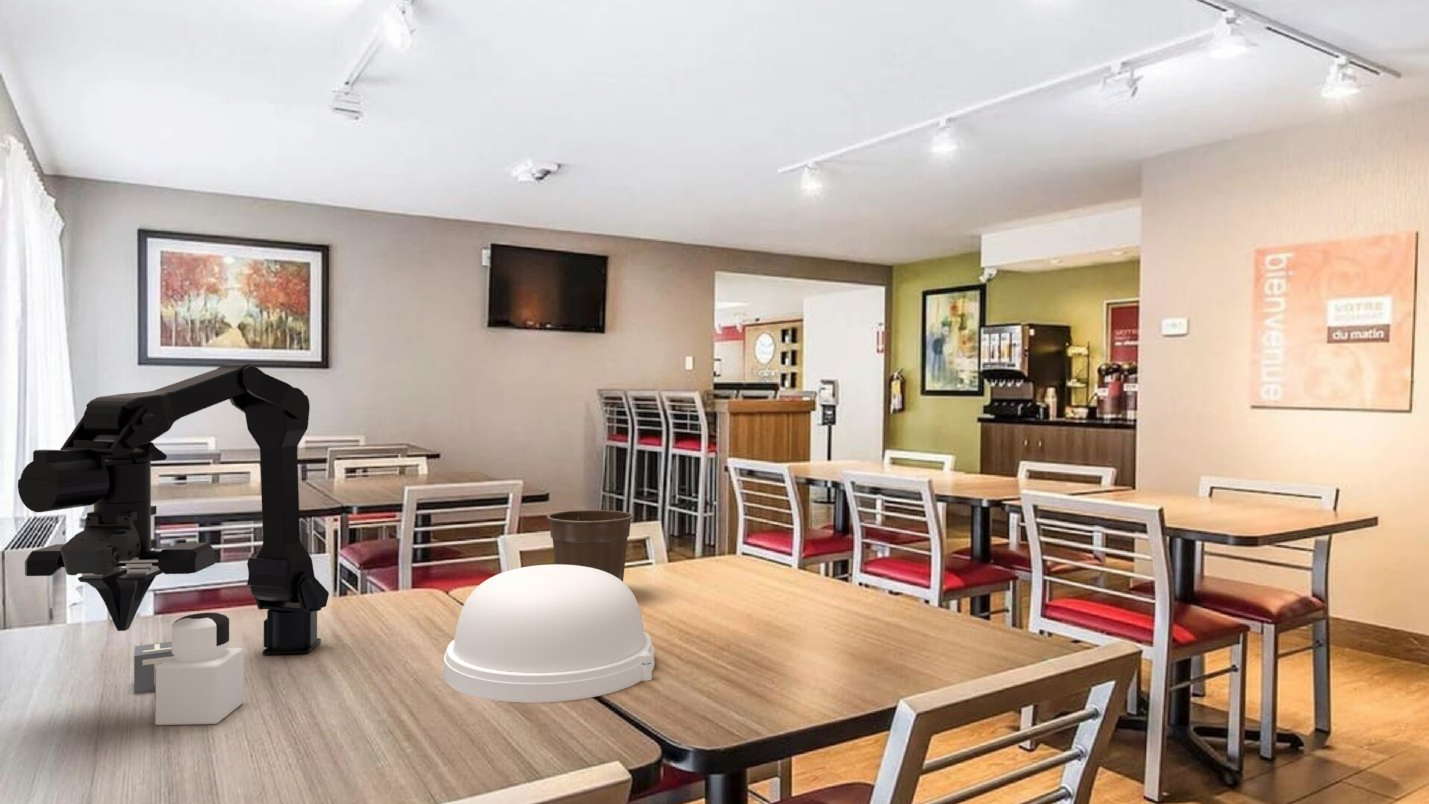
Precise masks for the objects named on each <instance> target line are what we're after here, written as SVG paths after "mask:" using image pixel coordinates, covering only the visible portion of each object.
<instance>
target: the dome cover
mask: <svg viewBox="0 0 1429 804" xmlns="http://www.w3.org/2000/svg"><path fill="white" fill-rule="evenodd" d="M642 616H643V615H642V612H641V608H640V605H639V603H638V600H637V598H636V596H635V595H634V592H632V590H631V589H630V587H629V586H628V585H627V584H626V583H625V582H624V581H623V582H622V581H621V580H620V579H619V578H617V577H615V576H614V575H612V574H609V573H607V572H605V571H602V570H598V569H595V568H590V567H584V566H577V565H560V564H555V563H553V564H539V565H537V564H536V565H530V566H523V567H518V568H514V569H510V570H507V571H503V572H500V573H497V574H495V575H493V576H492V577H489V578H488V579H486V580H485V581H483V582H481V583H480V584H479V585H478V586H477V587H476V588H474V589H473V590H472V592H471V593H470V594H469V596H468V597H467V599H466V600H465V602H464V604H463V606H462V608H461V611H460V613H459V617H458V619H457V624H456V628H455V633H454V639H452V640H451V641H450V642H449V643H448V645H447V647H446V651H445V653H444V655H443V656H444V657H443V665H442V666H443V667H442V677H443V680H444V682H445V683H446V684H447V685H448V686H449V687H450V688H452V689H454V690H456V691H458V692H460V693H463V694H465V695H469V696H472V697H476V698H479V699H484V700H489V701H490V700H491V701H499V702H508V703H526V704H527V703H531V704H532V703H534V704H535V703H536V704H537V703H538V704H539V703H540V704H541V703H555V702H556V703H557V702H559V703H560V702H571V701H578V700H583V699H591V698H595V697H600V696H604V695H608V694H613V693H615V692H618V691H622V690H625V689H627V688H629V687H632V686H634V685H636V684H638V683H640V682H641V681H643V682H646V681H647V682H648V681H651V680H653V673H652V672H653V670H654V668H655V649H654V648H655V647H654V645H653V643H652V639H651V637H650V634H648V633H647V632H646V631H645V629H644V621H643V617H642Z"/></svg>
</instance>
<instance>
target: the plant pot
mask: <svg viewBox="0 0 1429 804" xmlns="http://www.w3.org/2000/svg"><path fill="white" fill-rule="evenodd" d="M546 519H547V520H548V521H549V531H550V537H551V539H552V547H553V556H554V558H553V559H554V564H560V565H577V566H584V567H590V568H595V569H598V570H602V571H605V572H607V573H609V574H612V575H614V576H615V577H617V578H619V579H620V580H621V581H622V582H624V577H625V576H624V575H625V566H626V556H627V547H628V538H629V537H630V534H631V533H630V531H631V530H630V529H631V524H632V523H631V520H632V519H634V514H633V513H631V512H626V511H621V510H612V509H611V510H606V509H581V510H580V509H577V510H565V511H559V512H558V511H557V512H551V513H549V514H547V515H546Z"/></svg>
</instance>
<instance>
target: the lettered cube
mask: <svg viewBox="0 0 1429 804" xmlns="http://www.w3.org/2000/svg"><path fill="white" fill-rule="evenodd" d="M172 656H174V655H173V654H172V641H166V642H160V643H159V642H158V643H149V644H141V645H135V646H134V654H133V674H134V675H133V694H134V695H137V694H142V693H150V692H155V667H156V666H157V665H159V664H160V663H162V662H164V661H166V660H167V659H169V658H171V657H172Z"/></svg>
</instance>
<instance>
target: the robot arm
mask: <svg viewBox="0 0 1429 804" xmlns="http://www.w3.org/2000/svg"><path fill="white" fill-rule="evenodd" d="M228 400H229V401H230V403H231V406H234V407H235V408H236V409H238V410H239V411H241V412H243V413H244V415H245V421H246V428H247V430H248V432H249V434H250V435H251V437H252V438H253V440H254V441H255V443H256V445H257V446H258V447H259V454H260V455H259V456H260V457H259V460H260V461H259V463H260V490H261V491H260V493H261V495H260V496H261V521H262V523H261V524H262V545H261V547H260V549H259V550H258V552H257V553H256V555H255V557H249V558H248V559H247V563H246V565H247V566H246V567H247V570H248V571H247V572H248V578H247V582H246V586H249V587H250V590H251V591H250V592H251V594H252V595H253V596H254V599H255V602H256V605H257V609H258V610H267V611H266V615H267V616H266V619H264V620H263V648H265V649H263V650H262V655H288V654H289V655H298V654H308V653H310V652H311V651H313V649H314V648H315V647H317V646H318V645H320V643H321V642H322V638H320V637H319V638H318V612H319V611H321V610H322V609H323V608H325V607H326V606H327V604H328V603H327V602H328V600H329V599H328V598H329V596H330V593H329V592H330V591H328V590H327V589H326V588H325V587H324V586H323V585H322V583H321V582H320V581H319V580H318V579H317V578H316V576H315V572H314V571H315V570H314V563H313V559H312V557H311V555H310V553H309V552H308V551H307V549H306V547H305V546H304V544H303V543H302V541H301V530H300V529H301V527H300V502H299V499H300V496H299V493H300V491H299V466H298V465H299V462H298V446H299V444H300V442H301V441H302V439H303V437H304V435H305V434H306V432H307V430H308V427H309V419H310V407H311V406H310V399H309V397H308V395H307V394H305V393H304V392H303V390H301V389H300V388H299V387H293V386H292V385H291V384H289V383H287V382H285V381H283V380H280V379H278V378H276V377H273V376H272V375H269V374H267V373H265V372H264V371H262V370H261V369H259V368H258V367H257V366H254V365H253V364H250V363H226V364H223V365H221V366H219V367H216V368H215V369H213V370H210V371H207V372H203V373H201V374H198V375H195V376H192V377H189V378H186V379H183V380H180V381H178V382H175V383H172V384H168V385H166V386H163V387H160V388H157V389H155V390H150V391H142V392H141V391H139V392H127V393H120V394H119V393H118V394H112V395H104V396H103V395H102V396H98V397H95V398H94V399H91V400H90V401H89V402H88V403H87V404H86V409H85V410H84V412H83V416H82V417H81V419H80V420H79V422H78V423H77V424H76V426H75V428H74V429H73V430H72V432H71V433H70V435H69V436H68V438H67V439H66V441H64V444H63V445H62V446H61V448H60V449H35V450H34V451H32V461H30V462H29V463H28V464H27V465H26V466H25V467H24V468H23V469H22V470H23V471H22V472H21V474H20V479H18V481H17V489H18V490H17V491H18V495H19V497H20V500H21V502H22V504H23V505H24V506H25V507H26V508H27V509H29V511H31V512H34V513H47V512H53V511H59V510H60V511H61V510H68V509H73V508H80V507H81V508H82V507H88V506H93V511H90V512H86V517H85V526H84V528H83V530H82V531H80V532H78V533H76V534H75V535H73V536H72V537H71V538H70V539H69V540H68V541H67V542H66V543H64V544H63V543H61V544H60V543H57V544H56V543H55V544H52V545H47V546H45V547H42V548H41V547H40V548H38V549H35V550H32V551H31V552H30V553H29V554H28V555H27V557H26V559H25V560H24V576H26V577H51V576H54V575H55V574H56V573H58V572H59V571H60V570H61V569H62V568H64V570H65V573H66V575H67V576H77V575H79V574H81V576H79V577H78V578H77V579H78V581H79V582H80V583H86V584H87V585H89V586H91V587H93V588H94V589H95V590H96V591H97V592H98V594H99V596H100V597H101V599H102V600H103V602H104V604H105V606H106V608H107V611H108V613H109V615H110V618H111V620H112V621H113V625H114V627H115V628H116V631H118V632H126V631H127V630H129V629H130V628H131V625H132V623H133V621H134V619H135V617H136V615H137V612H138V610H139V609H140V606H141V604H142V601H143V599H144V598H145V595H146V594H147V592H148V591H149V588H150V587H151V585H152V584H153V581H154V580H155V579H156V577H157V576H159V575H161V574H164V575H189V574H190V575H191V574H195V573H198V572H200V571H203V570H204V569H207V568H209V567H211V566H214V565H215V561H216V558H215V556H216V554H215V552H216V551H215V549H214V547H213V546H212V545H211V544H210V542H178V543H176V544H174V545H171V546H168V547H166V548H163V549H161V550H160V549H159V550H157V549H156V550H152V549H154V548H157V546H158V545H157V541H158V540H157V538H152V516H154V515H157V506H156V505H152V478H151V477H152V467H151V466H152V462H159V461H165V460H166V459H167V458H168V456H167V454H166V453H164V452H163V451H162V450H160V449H159V448H158V447H156V445H155V444H154V443H153V441H155V440H156V439H158V438H159V437H162V436H163V435H164V434H166V433H167V432H169V431H170V430H171V428H172V426H173V425H174V423H175V422H177V421H178V420H180V419H182V418H184V417H188V416H189V415H192V414H195V413H197V412H199V411H202V410H204V409H207V408H211V407H213V406H216V405H217V404H220V403H223V402H224V401H228Z"/></svg>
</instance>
